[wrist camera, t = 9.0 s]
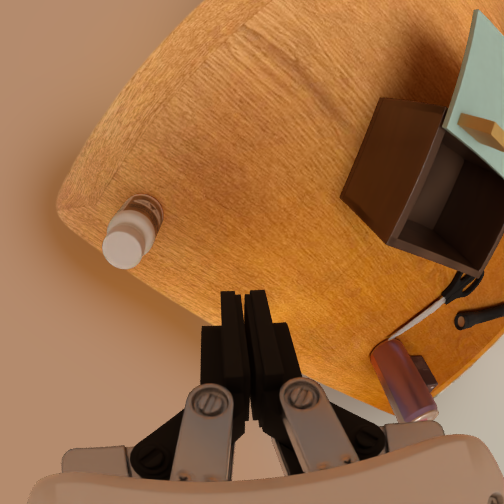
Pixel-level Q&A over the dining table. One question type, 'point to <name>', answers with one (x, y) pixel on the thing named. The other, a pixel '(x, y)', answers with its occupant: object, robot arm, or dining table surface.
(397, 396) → the beverage can
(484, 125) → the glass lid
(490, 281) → the dining table surface
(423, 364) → the box
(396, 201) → the display box
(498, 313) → the flashlight
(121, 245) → the pill bottle
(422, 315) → the scissors
